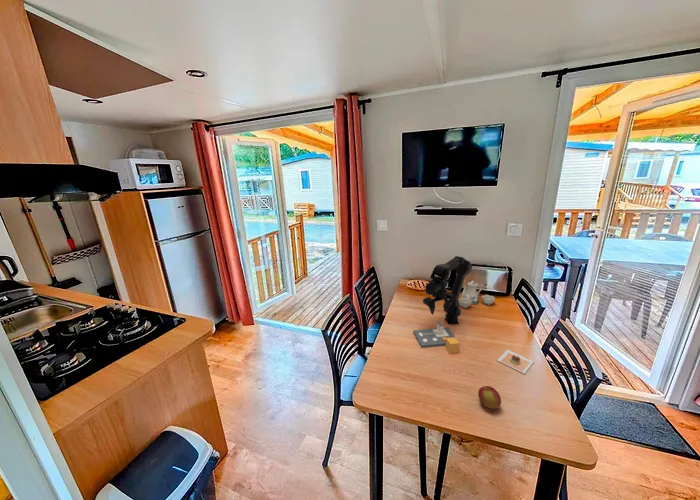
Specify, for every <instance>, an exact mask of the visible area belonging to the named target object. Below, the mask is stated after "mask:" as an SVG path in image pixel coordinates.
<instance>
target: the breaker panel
mask: <svg viewBox="0 0 700 500" xmlns="http://www.w3.org/2000/svg"><path fill="white" fill-rule="evenodd" d="M436 330H437V327H436V328H425V329H424V328H423V329H413V331H412V332H413V335H414V337H415V339H416V340H417V342H418V344H419V346H420V348H422V349H424V348H434V347H435V348H436V347H445V346H446V338H453V337H455V338H456V339H457V340H458V338H457V336H455V334H454V333H453V332H452V330H451V329H450V328H449V326H447V327H443V334H438V333H437V331H436ZM458 341H459V340H458ZM459 343H460V341H459ZM460 344H461V343H460Z"/></svg>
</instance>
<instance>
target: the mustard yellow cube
mask: <svg viewBox="0 0 700 500" xmlns="http://www.w3.org/2000/svg"><path fill="white" fill-rule="evenodd" d="M455 337H456V336H455ZM455 337H453V338H446V346H444V347H445V350H446V351H447V352H448V354H450V355H452V354H460V347H461V343H459V342H460V340H457V339H458V338H457V337H456V338H457V339H456V338H455Z"/></svg>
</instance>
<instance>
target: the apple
mask: <svg viewBox="0 0 700 500" xmlns="http://www.w3.org/2000/svg"><path fill="white" fill-rule="evenodd" d="M477 394H478V395H477V396H478V399H479V401H480V403H481V404H482V405H483V406H484V407H486V408H488V409H494V410H495V409H498V408H500V406H501V404H502V399H501V396H500V393H499V392H498V391H497V390H496V388H494V387H492V386H490V385H486V386H481V387H480V388H479V389H478V393H477Z"/></svg>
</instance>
